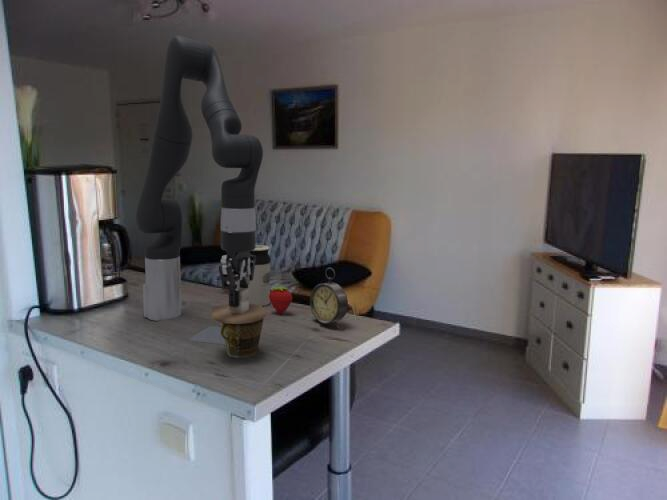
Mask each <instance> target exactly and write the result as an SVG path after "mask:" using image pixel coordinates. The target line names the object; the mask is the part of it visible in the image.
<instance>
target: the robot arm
mask: <svg viewBox="0 0 667 500" xmlns="http://www.w3.org/2000/svg"><path fill="white" fill-rule="evenodd" d="M222 71H223V70H222V67H221V64H220V61H219V56H218V55H217V52H216V50H215V48H214V47H213V46H212V45H211V44H210V43H208V42H205V41H201V40H198V39H194V38H190V37H186V36H182V35H174V36H172V37H171V39H170V40H169V42H168V45H167V49H166V54H165V59H164V69H163V77H162V78H163V79H162V88H161V97H160V103H159V107H158V114H157V119H156V122H155V127H154V132H153V137H152V144H151V148H150V154H149V161H148V166H147V171H146V175H145V179H144V183H143V187H142V190H141V193H140V195H139V198H138V202H137V207H136V215H135V216H136V218H135V219H136V220H135V221H136V224H137V228H138V229H139V230H140V231H141V232H142V233H143V234H159V236H158V237H157V238H156V240H154V241H153V242H151V243H149V244H148V245H147V246H145V248H144V265H145V267H144V268H145V283H143V284H142V299H143V301H142V302H143V317H144V318H147V319H148V320H151V321H154V322H155V321H156V322H160V321H162V320H163V321H164V320H171V319H176V318H178V317H180V316H181V315H182V293H181V292H182V286H181V254H180V253H181V252H180V251H181V248H182V245H183V244H182V243H183V241H182V240H183V212H182V208H181V205H180V203H179V202H178V201H177V199H174V198H170V197H169V198H168V197H167V198H164V197H163V196H164V193H165V192H166V191H165V190H166V189H167V187H168V186H169V184H170V182H171V181H172V180H173V179H174V178H175V177H176V175H177V174H178V173H179V172H180V170H181V169H182V168H183V167H184V165H185V164H186V163H187V160H188V158H189V155H190V151H191V145H192V142H193V136H194V135H193V129H192V126H191V122H190V120H189V117H188V115H187V113H186V110H185V107H184V104H183V101H182V84H183V83H182V82H183V79H186V80H190V81H195V82H202V83H203V84H204V85H205V87H206V90H205V92H204V94H203V97H202V98H201V103H200V104H201V106H200V107H201V112H202V116H203V118H204V121H205V122H206V123H205V124H206V125H207V128H208V129H209V133H210V137H211V138H210V140H211V154H212V155H211V156H212V158H213V161H214V162H215V163H216V164H217V165H218V166H219V167H221V168H224V169H225V168H226V169H240V172H239V174H238V176H237V177H235V178H231V179H227V180H224V181H222V183H221V201H220V203H221V212H220V248H221V250H222V251H225V252H226V255H227V257H226V263H225V264H224V265H222V264H219V265H218V270H219V275H220V281H221V285H222V290H225V291H226V290H228V291H229V293H228V304H229V306H230V307H238V306H239V288H248V285H249V284H250V281H252V280H253V276H254V269H255V262H256V256H255V255H250V251H252V250H254V249H255V248H256V245H257V243H256V240H257V239H256V234H257V233H256V229H257V228H256V227H257V225H256V223H257V222H256V219H257V218H256V217H257V216H256V211H255V189H256V184H257V180H258V175H259V171H260V169H261V165H262V161H263V157H264V149H263V145H262V143H261V140H260V139H259V138H258V137H257V136H255V135H251V134H240V133H241V131H242V127H243V126H242V121H241V119H240V116H239V115H238V113H237V111H236V109H235V107H234V104H233V103H232V101H231V98H230V96H229V94H228V93H229V92H228V90H227V87H226V84H225V83H226V82H225V79H224V75H223V72H222ZM233 275H236V276H237V277H236V276H233ZM234 280H235V281H236V282H235V281H234ZM226 281H227V282H226Z"/></svg>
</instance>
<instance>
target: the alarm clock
mask: <svg viewBox="0 0 667 500" xmlns="http://www.w3.org/2000/svg"><path fill="white" fill-rule="evenodd" d="M328 270H332V271H333V277H328V274H327V273H328V272H327V271H328ZM325 276H326V278H327V282H324V283H318V284H317V285H315V286H314V287H313V289H312V290H311V293H310V297H309V305H310V306H309V307H310V310H311V313H312V315H313V317H314V318H315V321H316V322H317V321H318V322H319V323H320V324H321V323H322V324H324V325H329V324H333V323H334V325H335V327H336V330H340V327H339V323H338V322H339V321H341V320H343V319H344V317H345V316H346V314H347V311H348V308H349V307H348V306H349V301H348V297H347V296H348V295H347V293H346V292H345V290H344V289H343V287H342V286H341V285H339V284H338V283H336V282H332V280H334V279H335V278H336V272H335V270H334V269H333V268H332V267H326V269H325Z"/></svg>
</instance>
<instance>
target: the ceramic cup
mask: <svg viewBox="0 0 667 500" xmlns="http://www.w3.org/2000/svg"><path fill="white" fill-rule="evenodd" d="M264 319H265V317H264V318H263V319H261V320H259V321H256V322H251V323H244V324H228V323H222V322H220V326H221V336H222V337H223V338H224V339H225V344H226V345H225V349H226V354H227V355H228V357H230V358H236V359H245V358H247V359H248V358H252V357H254V356H255V355H257V354H258V350H259V346H260V345H259V344H260V339H261V335H262V329H263V323H264Z"/></svg>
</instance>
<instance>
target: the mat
mask: <svg viewBox="0 0 667 500" xmlns="http://www.w3.org/2000/svg"><path fill="white" fill-rule="evenodd" d="M187 341H192V342H200V343H207V344H214V345H221V346H226V344H225V339H224V338H223V337H222V336H221V327H220V326H211V325H210V326H208V327H206V328H204V329H203V330H201V331H200V332H197V333H196V334H195V335H193V336H191V337H190V338H188V339H187Z"/></svg>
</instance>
